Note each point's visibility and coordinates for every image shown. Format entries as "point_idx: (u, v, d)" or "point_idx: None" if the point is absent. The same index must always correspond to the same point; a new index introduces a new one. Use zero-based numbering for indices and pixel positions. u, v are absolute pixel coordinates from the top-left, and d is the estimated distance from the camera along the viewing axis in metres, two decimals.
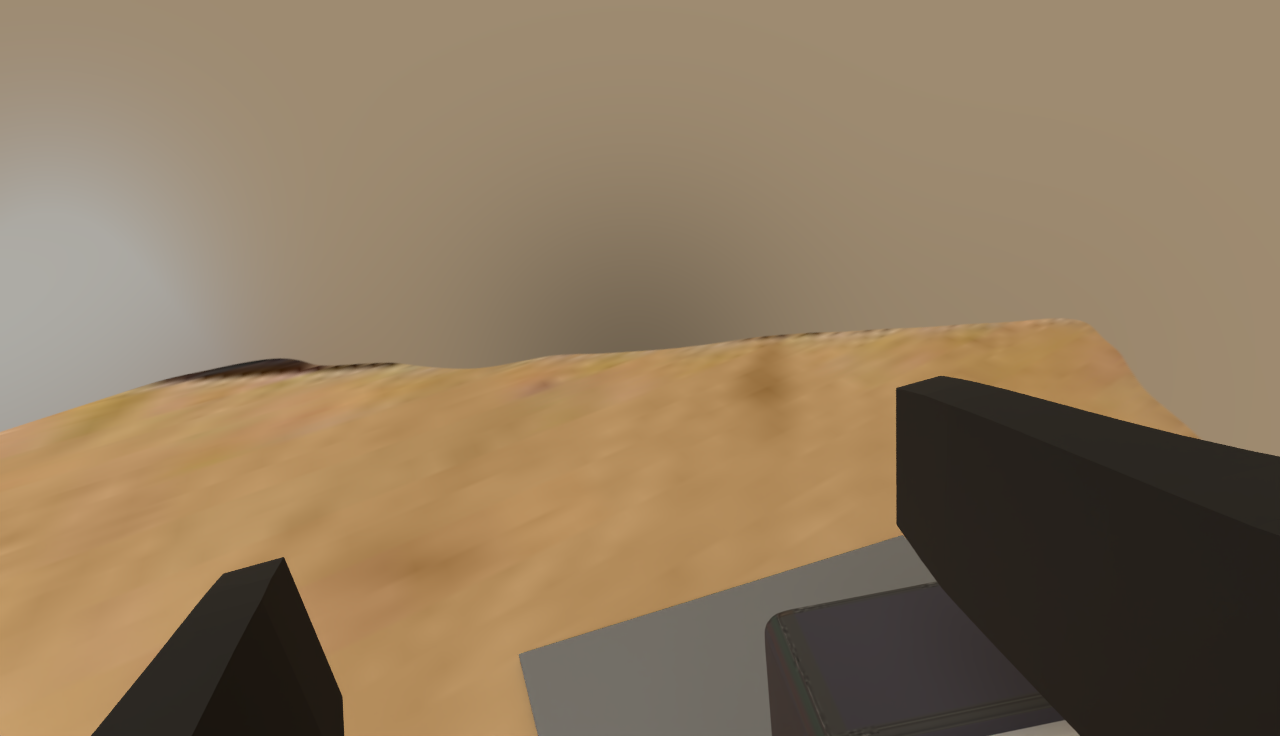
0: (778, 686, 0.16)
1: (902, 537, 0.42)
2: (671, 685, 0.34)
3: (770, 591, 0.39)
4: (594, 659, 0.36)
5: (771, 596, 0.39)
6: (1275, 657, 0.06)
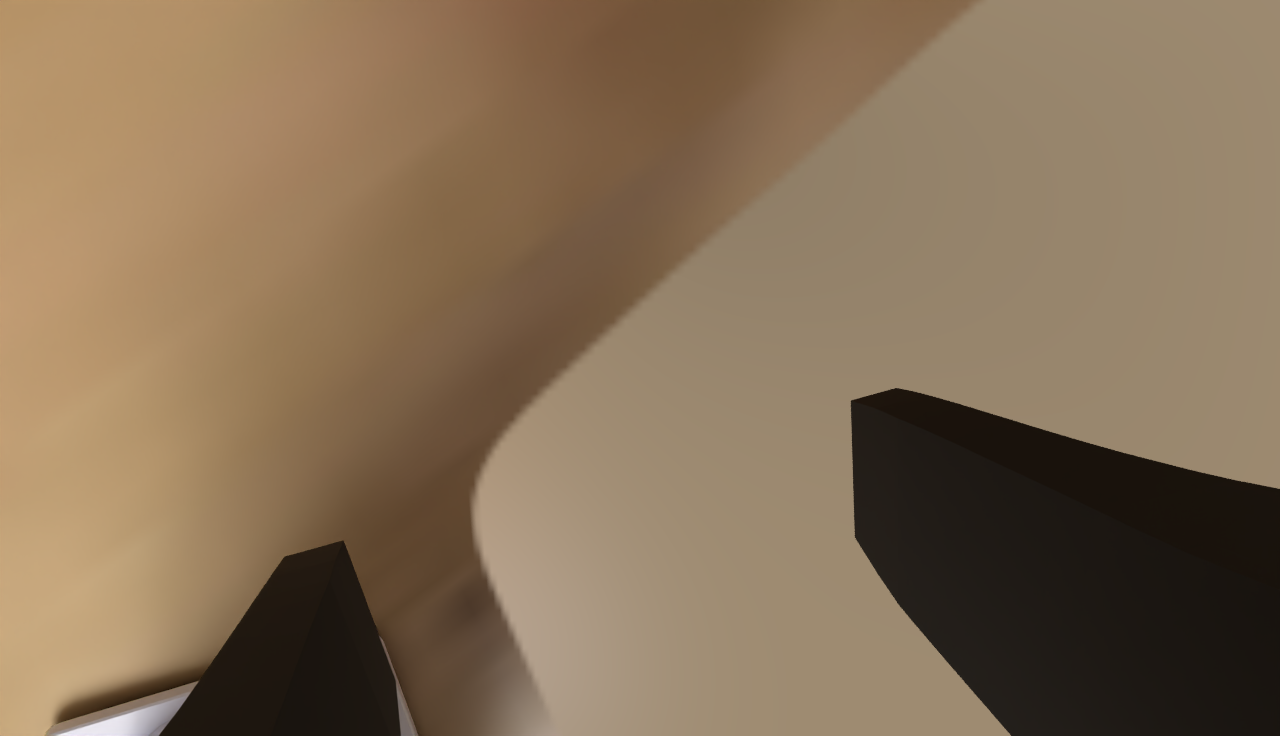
0: None
1: None
2: None
3: None
4: None
5: None
6: (1205, 684, 0.06)
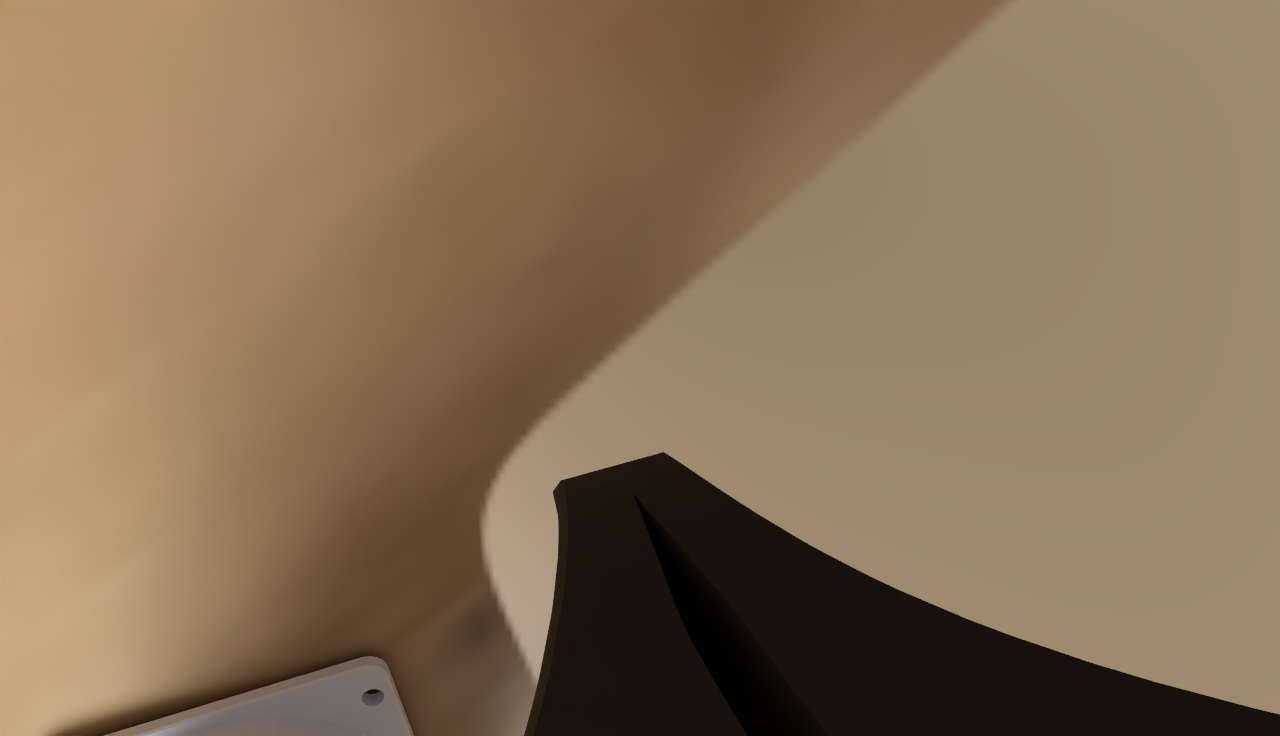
0: None
1: None
2: None
3: None
4: None
5: None
6: None
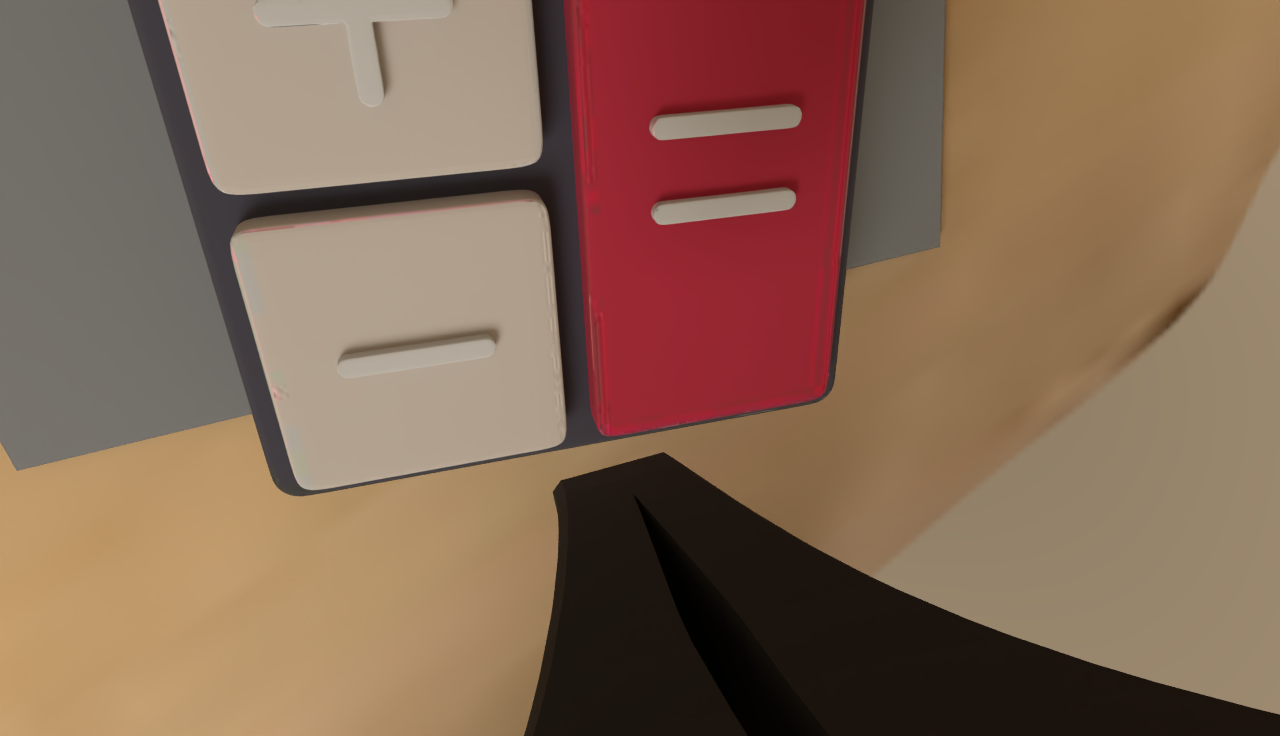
0: None
1: None
2: None
3: None
4: None
5: None
6: None
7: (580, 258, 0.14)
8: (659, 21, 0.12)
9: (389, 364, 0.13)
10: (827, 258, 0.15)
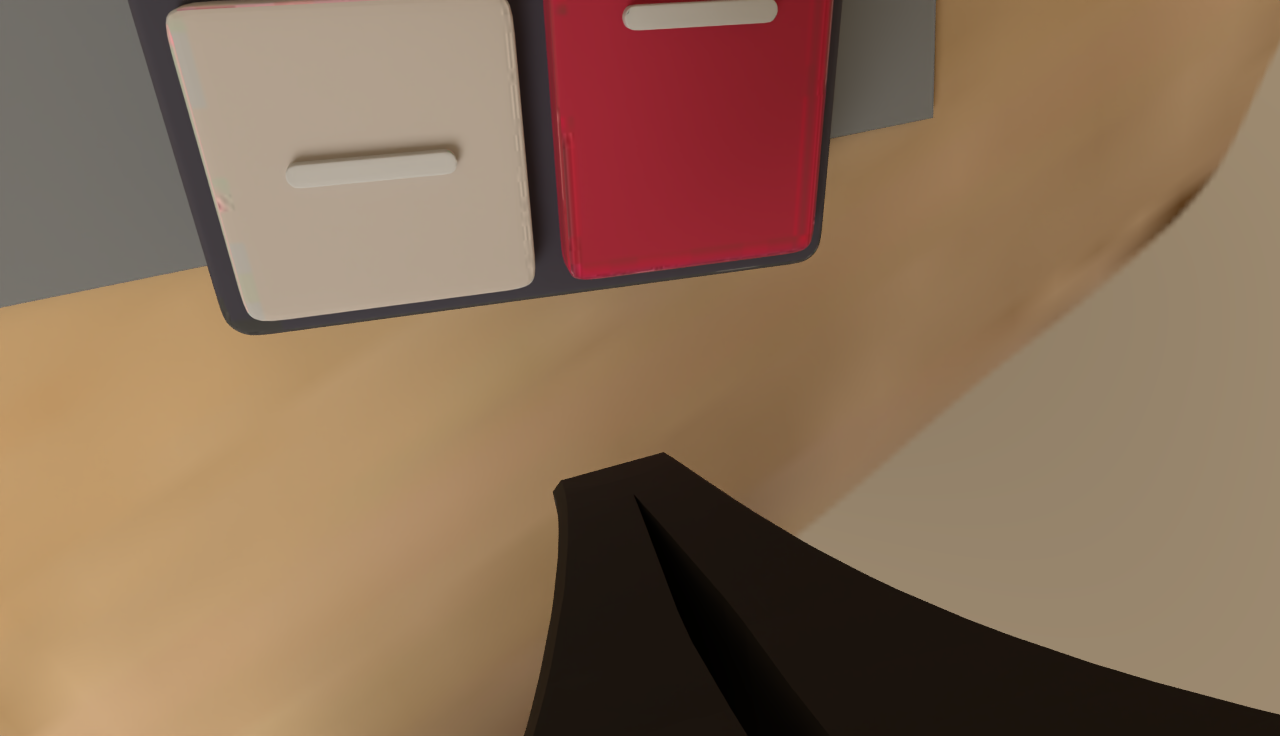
0: None
1: None
2: None
3: None
4: None
5: None
6: None
7: (547, 75, 0.13)
8: None
9: (341, 174, 0.12)
10: (811, 86, 0.14)
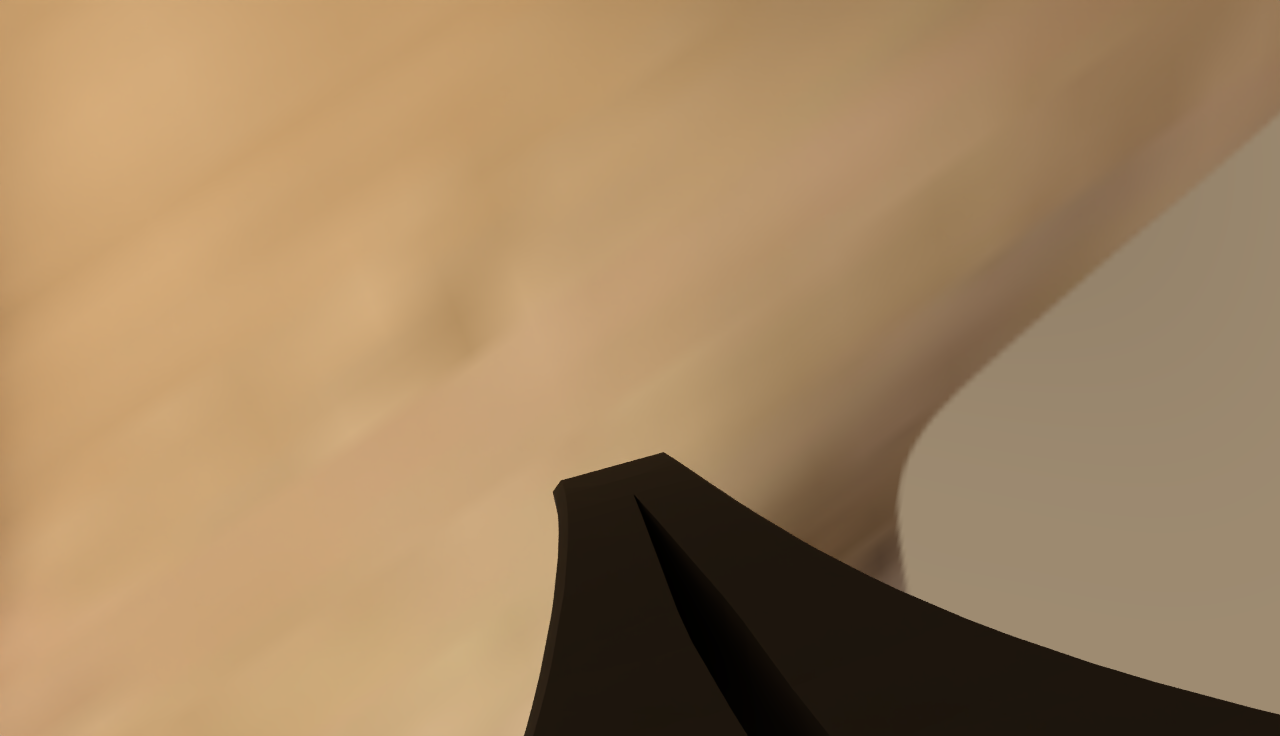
0: None
1: None
2: None
3: None
4: None
5: None
6: None
7: None
8: None
9: None
10: None
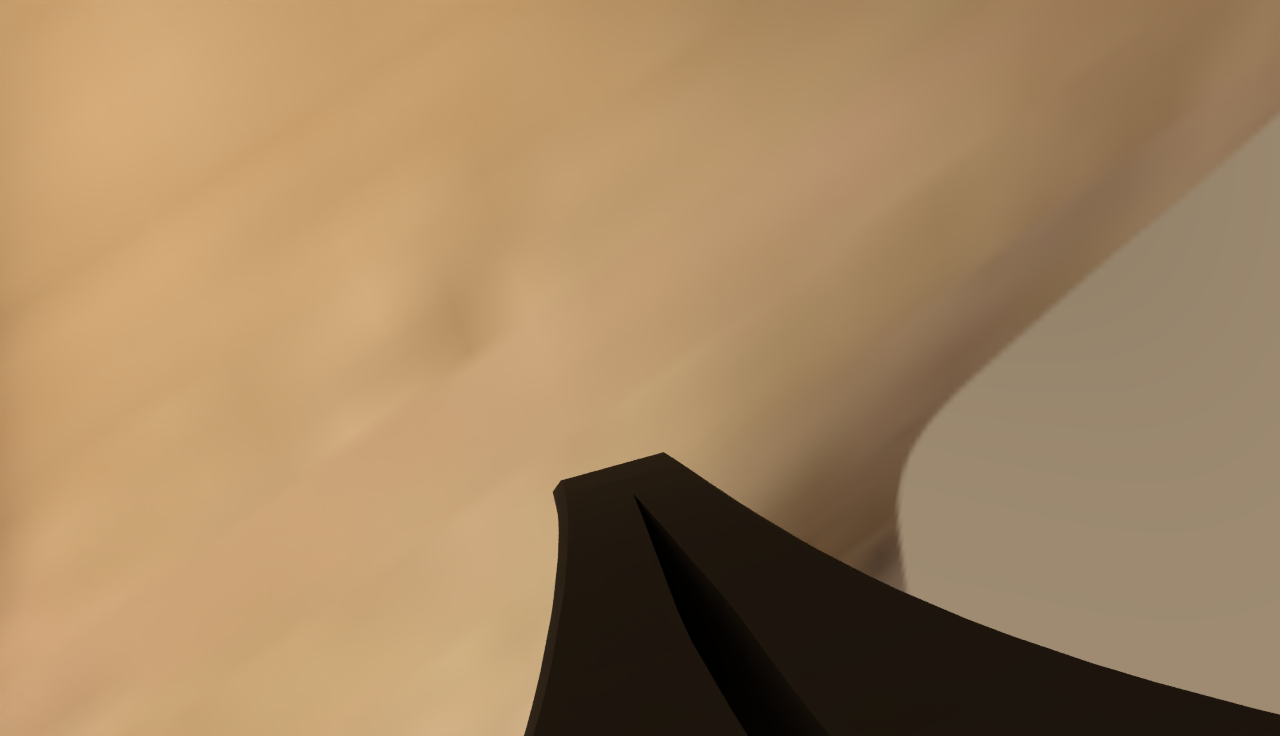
0: None
1: None
2: None
3: None
4: None
5: None
6: None
7: None
8: None
9: None
10: None
